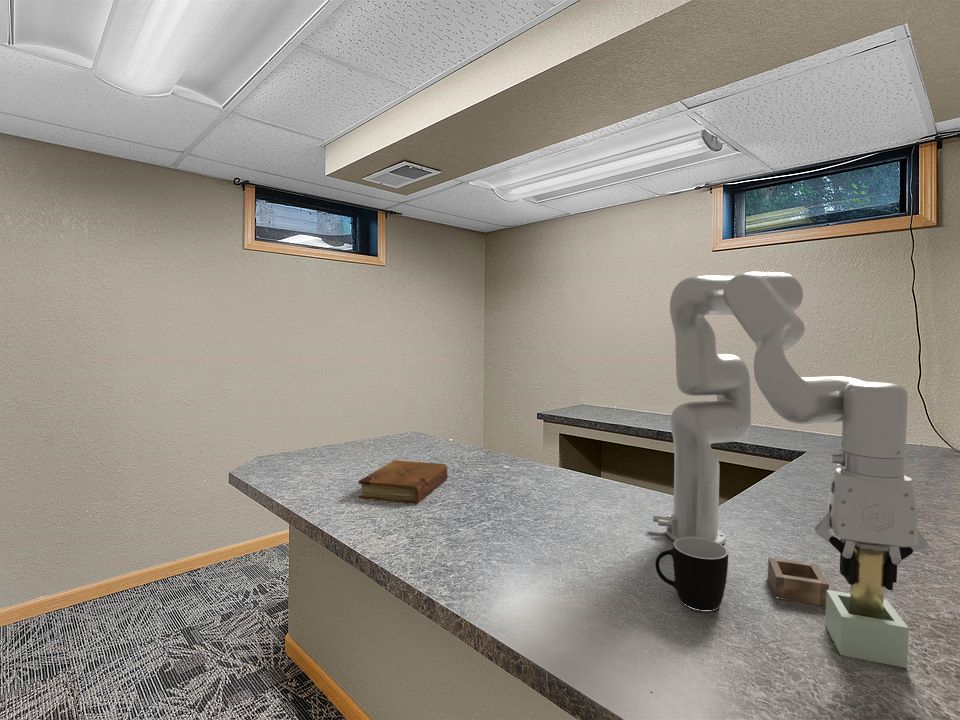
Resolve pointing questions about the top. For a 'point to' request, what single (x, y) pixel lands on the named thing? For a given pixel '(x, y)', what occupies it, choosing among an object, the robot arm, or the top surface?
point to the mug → (697, 571)
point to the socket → (866, 632)
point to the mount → (797, 581)
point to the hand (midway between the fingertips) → (867, 581)
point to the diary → (403, 481)
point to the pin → (868, 580)
